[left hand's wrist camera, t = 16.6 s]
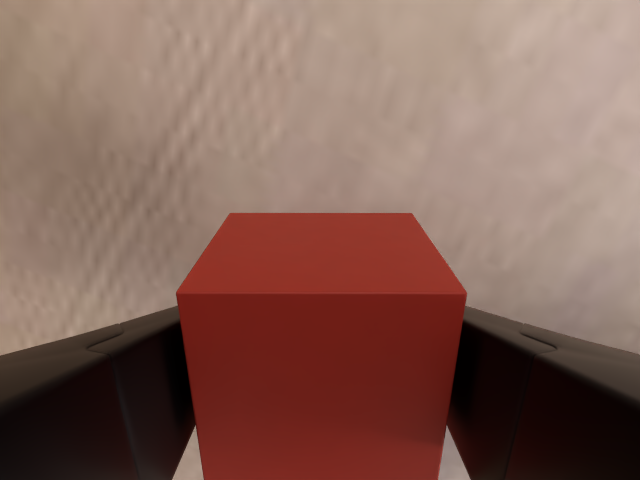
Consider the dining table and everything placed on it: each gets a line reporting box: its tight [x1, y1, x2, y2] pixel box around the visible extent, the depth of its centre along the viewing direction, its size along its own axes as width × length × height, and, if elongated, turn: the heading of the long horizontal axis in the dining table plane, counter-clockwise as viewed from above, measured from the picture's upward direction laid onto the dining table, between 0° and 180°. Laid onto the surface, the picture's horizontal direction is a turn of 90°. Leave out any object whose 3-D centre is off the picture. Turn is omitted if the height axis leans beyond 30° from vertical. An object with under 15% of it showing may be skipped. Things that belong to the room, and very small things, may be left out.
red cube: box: [176, 213, 467, 480], centre depth 10 cm, size 5×5×5 cm
